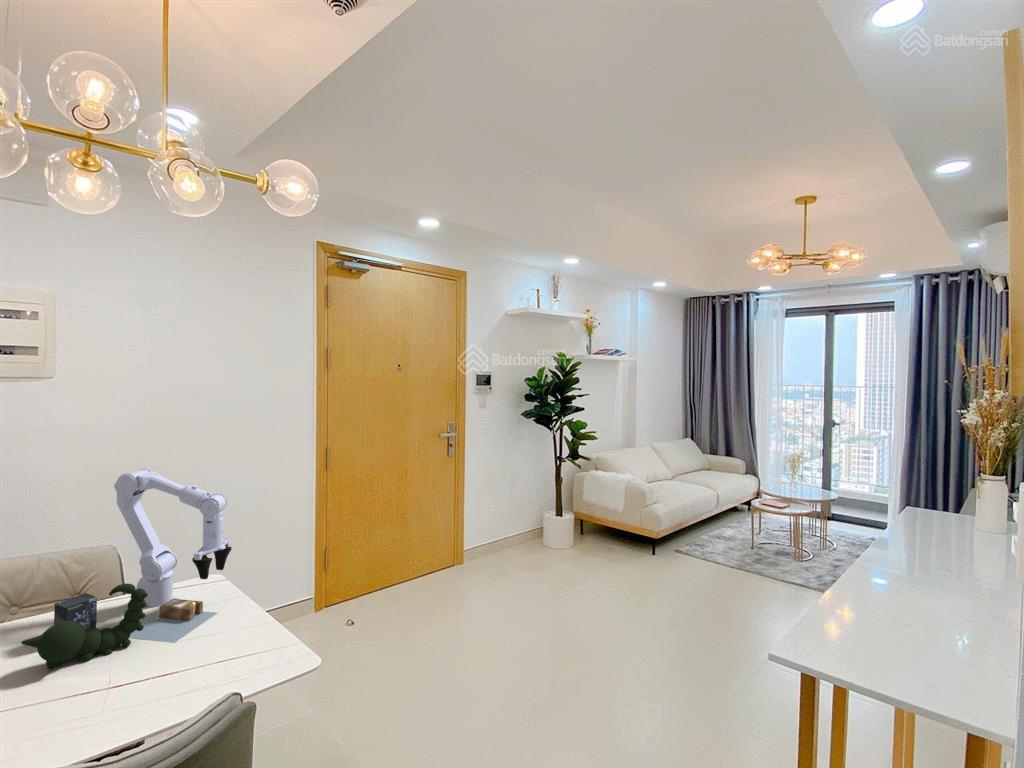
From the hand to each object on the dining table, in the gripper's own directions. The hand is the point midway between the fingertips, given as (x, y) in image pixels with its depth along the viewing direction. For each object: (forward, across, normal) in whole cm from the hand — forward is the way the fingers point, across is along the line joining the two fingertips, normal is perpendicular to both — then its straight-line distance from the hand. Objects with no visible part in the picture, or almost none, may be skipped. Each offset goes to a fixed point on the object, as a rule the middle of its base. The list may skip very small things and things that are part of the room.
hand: (212, 574), depth 169 cm
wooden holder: (+9, -10, +3) cm, 14 cm away
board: (+10, -16, +1) cm, 18 cm away
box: (+10, -25, +23) cm, 35 cm away
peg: (+10, -10, -1) cm, 14 cm away
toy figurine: (+10, -34, +10) cm, 37 cm away
